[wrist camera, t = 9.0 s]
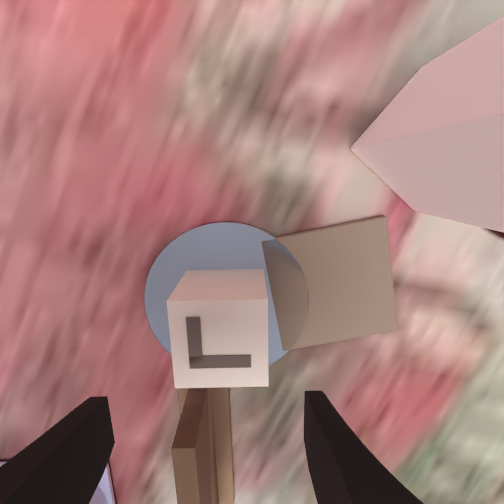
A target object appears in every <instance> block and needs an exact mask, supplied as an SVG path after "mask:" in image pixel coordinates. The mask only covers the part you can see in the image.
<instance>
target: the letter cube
mask: <svg viewBox="0 0 504 504" xmlns="http://www.w3.org/2000/svg"><path fill="white" fill-rule="evenodd" d="M167 311H168V322H169V332H170V343H171V353H172V364H173V374H174V385H175V388H217V387H264V386H268V296H267V289H266V282H265V275H264V269H225V270H186V272H185V274H184V275H183V277H182V278H181V280H180V281H179V283H178V284H177V286H176V288H175V289H174V291H173V292H172V294H171V295H170V297H169V298H168V300H167Z"/></svg>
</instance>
